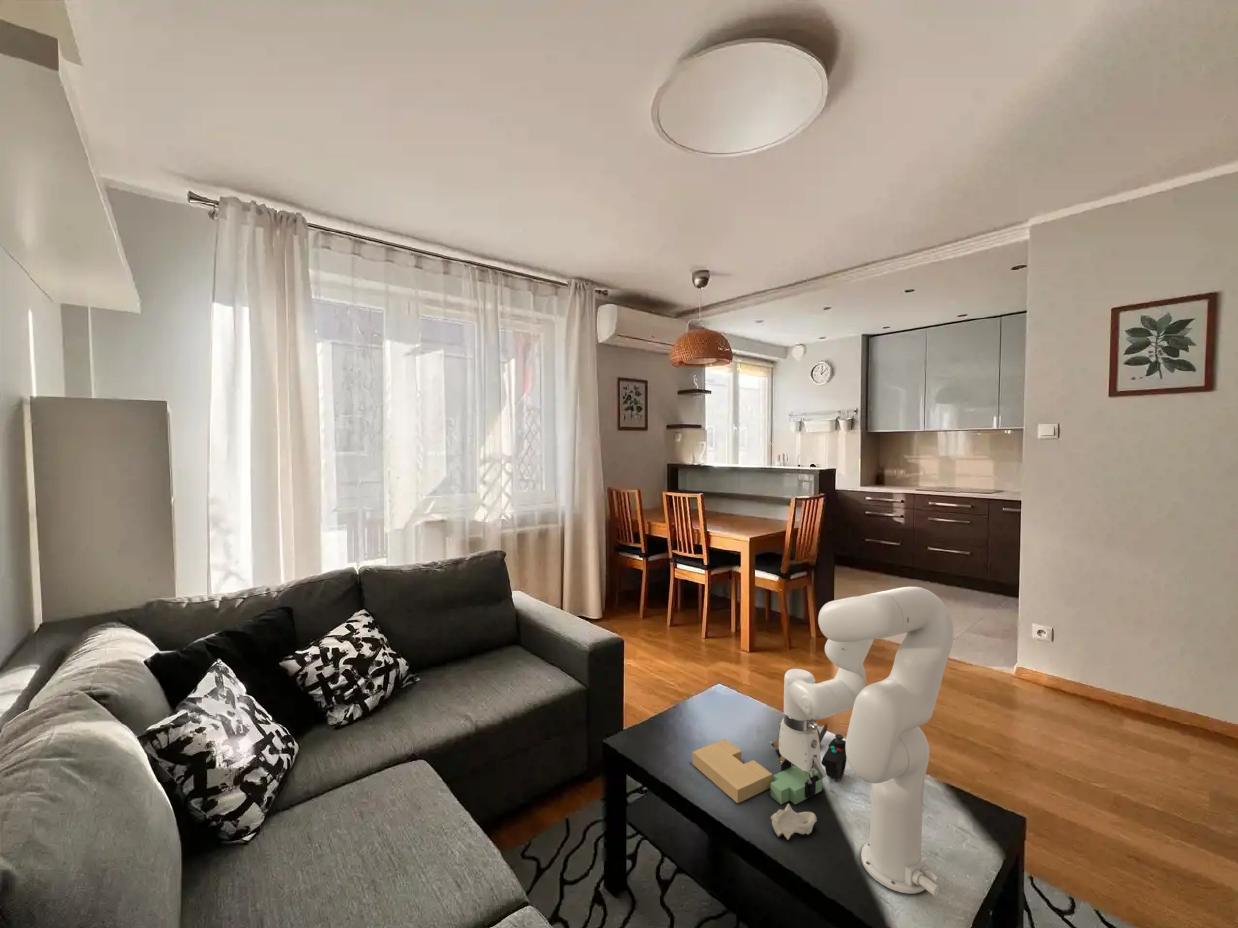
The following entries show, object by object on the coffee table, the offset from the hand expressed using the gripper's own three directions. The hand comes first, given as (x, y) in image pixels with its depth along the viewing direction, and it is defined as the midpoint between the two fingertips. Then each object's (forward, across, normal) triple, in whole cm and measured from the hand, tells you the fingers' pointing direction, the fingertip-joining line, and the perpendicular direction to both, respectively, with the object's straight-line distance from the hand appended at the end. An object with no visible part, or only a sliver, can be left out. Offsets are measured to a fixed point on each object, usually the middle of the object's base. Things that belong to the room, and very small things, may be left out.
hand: (797, 786), depth 133 cm
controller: (+1, -2, -12) cm, 12 cm away
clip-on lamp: (+1, +14, -16) cm, 21 cm away
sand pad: (+1, +13, +11) cm, 17 cm away
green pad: (+1, 0, +2) cm, 2 cm away
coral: (+1, -9, +12) cm, 15 cm away
